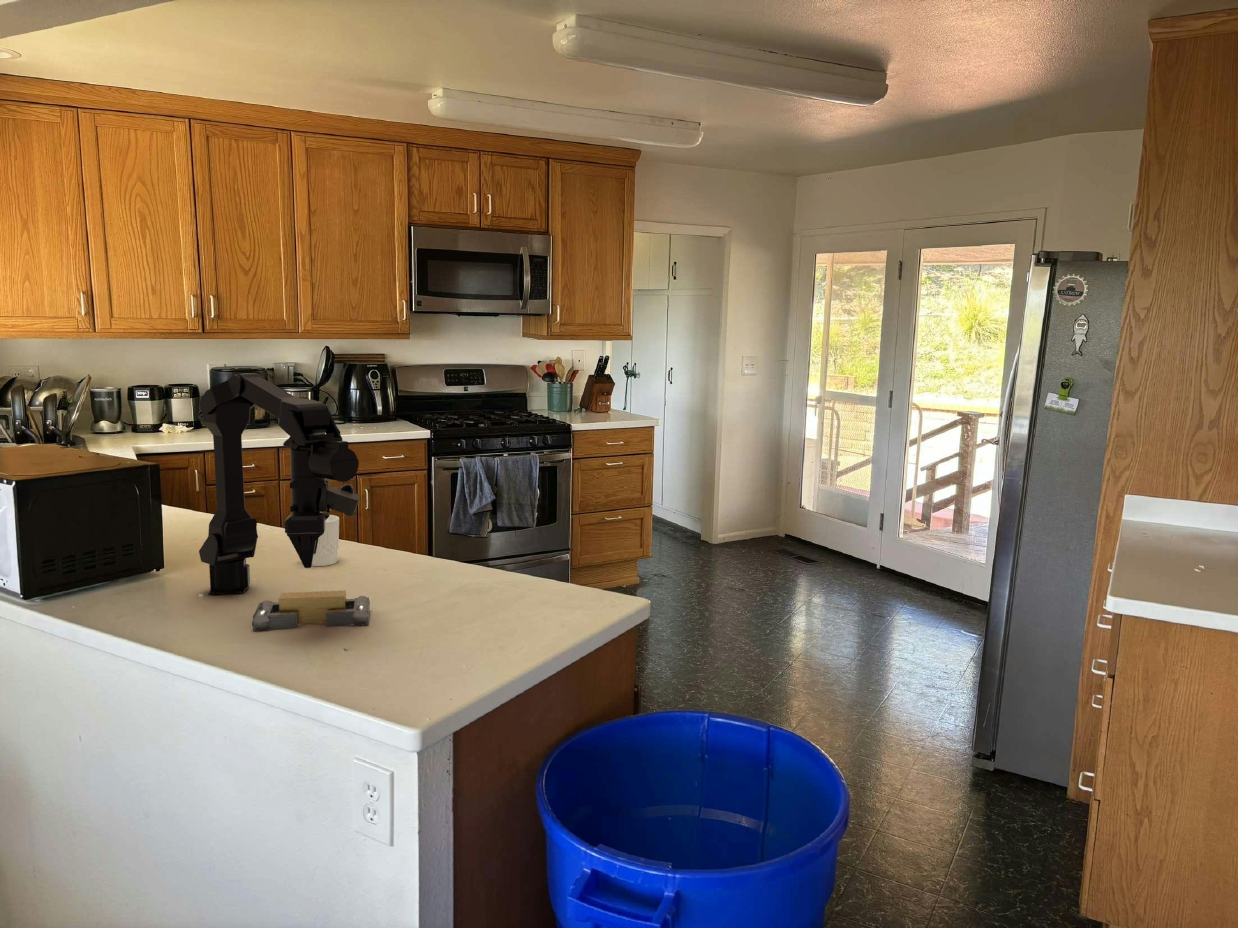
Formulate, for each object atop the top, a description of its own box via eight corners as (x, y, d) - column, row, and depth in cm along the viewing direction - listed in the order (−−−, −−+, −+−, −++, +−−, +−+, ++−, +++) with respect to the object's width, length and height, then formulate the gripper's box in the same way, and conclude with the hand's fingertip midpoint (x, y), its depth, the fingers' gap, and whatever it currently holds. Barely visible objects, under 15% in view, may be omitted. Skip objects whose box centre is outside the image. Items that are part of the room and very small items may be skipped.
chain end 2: (370, 609, 162) (369, 595, 161) (368, 624, 154) (368, 609, 153) (329, 611, 160) (329, 597, 159) (326, 627, 152) (326, 612, 151)
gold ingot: (279, 625, 152) (278, 598, 152) (282, 619, 156) (281, 592, 155) (345, 622, 155) (344, 596, 154) (346, 616, 158) (345, 590, 158)
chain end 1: (252, 631, 149) (251, 615, 148) (259, 615, 157) (258, 600, 156) (296, 628, 151) (295, 613, 150) (301, 613, 159) (300, 598, 158)
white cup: (301, 559, 194) (299, 515, 192) (337, 556, 197) (336, 513, 196) (304, 568, 187) (303, 523, 185) (342, 565, 190) (341, 521, 189)
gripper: (354, 483, 145) (355, 573, 147) (358, 465, 163) (359, 546, 165) (283, 484, 142) (285, 576, 144) (295, 465, 160) (297, 547, 162)
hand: (310, 560), depth 154 cm, fingers open, 9 cm apart
